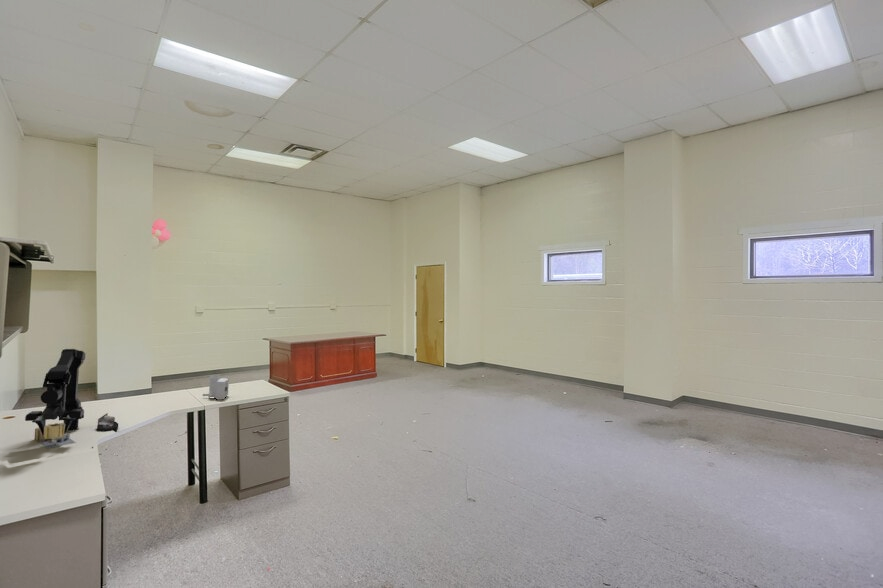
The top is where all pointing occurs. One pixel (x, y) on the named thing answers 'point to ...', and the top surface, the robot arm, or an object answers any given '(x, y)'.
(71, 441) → the plate
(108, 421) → the caster wheel
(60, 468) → the top surface
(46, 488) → the top surface
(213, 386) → the grey block housing
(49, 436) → the planet gear
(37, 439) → the seated gear
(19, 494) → the top surface
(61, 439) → the sun gear
